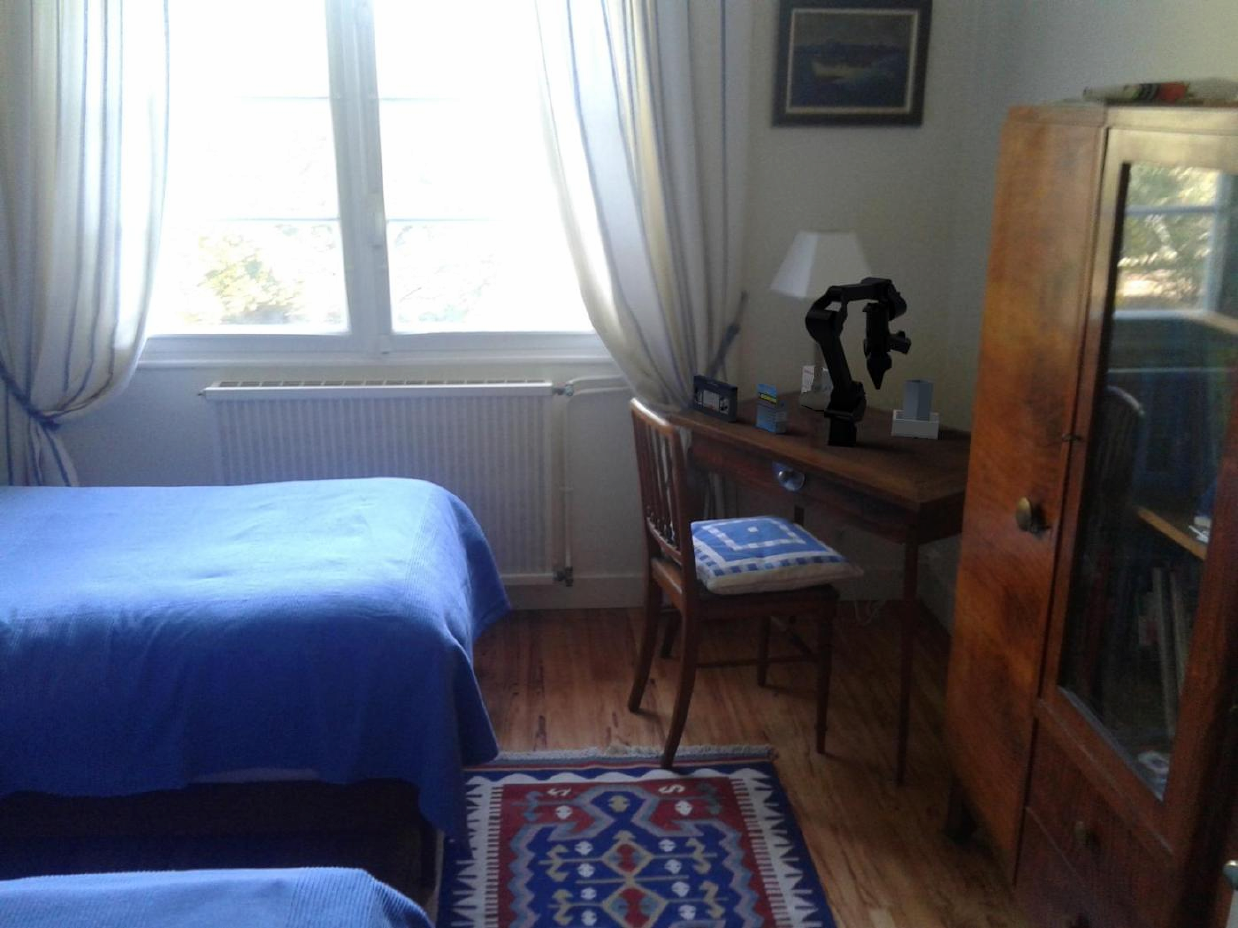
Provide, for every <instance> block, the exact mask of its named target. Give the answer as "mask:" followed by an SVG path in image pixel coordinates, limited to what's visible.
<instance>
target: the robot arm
mask: <svg viewBox="0 0 1238 928" xmlns="http://www.w3.org/2000/svg"><path fill="white" fill-rule="evenodd" d="M863 300H864V301H865V300H867V301H869V302H867V303H866V304H865V306H864V307H862V310H861V312H862V313H864V314H865V329H864V330H865V338H864V340H862V348H863V349H862V350H863V354H864V357H865V365H866V366H865V367H866V370H867V372H868V375H869V377H870V379H871V381H872V384H873V386H874V389H875V390H876V391H879V390H881V388H882V384H883V380H884V376H885V373H886V372H887V371H888V370H891V368H893V358H892V356H891V355H890V354H889V353H891V350H892V351H894V352H897V353H901V354H902V355H906V356H907V355H908V354H909V351H910V349H911V346H912V340H911V339H910V338H909V337H908V336H907V337H906V331H905V330H897V332H896V333H892V332H891V329H890V323H889V322H892V321H893V320H896V319H898V318H900V317H902V316H904V315H905V314H906V313H907V310H908V304H907V302H906V300H905V298H904V297H903V296H901V292H900V291H897V289H896V287H895V284H893V280H892V279H891V278H886V277H885V278H883V277H875V276H873V277H872V276H868V277H865V278H863V279H861V280H860V282H858V283H849V284H841V285H834V284H833V285H830V286H828V288H827V290H826V291H825V293H824V294H822V295H821V296H820V297H818V298H817V299H816V300H815V301H813V302H812V304H811V306H810V308H809V310H808V311H807V313H806V314H805V316H804V325H805V329H806V330H807V332H808V334H809V336H810V337H811V338H812V339H813V340H814V341H816V343H817V344H819V346H820V350H821V353H822V355H823V359H824V362H825V364H826V369H828V372H829V375H830V378H831V385H832V389H831V394H830V400H829V402H828V403H827V405H826V407H825V409H824V411H823V417H824V419H829V427H828V428H829V429H828V440H827V443H826V444H827V445H829V446H830V445H831V446H842V447H854V445H855V444H856V443H857V438H858V428H859V427H858V424H856V423H860V422H862V421H863V419H864V416H865V411H866V407H867V397H866V394H867V392H866V391H865V389H864V384H863V382H861V381H858V380H853V378H852V374H851V371H850V367H849V364H848V361H847V357H846V355H845V354H846V353H845V350H844V348H843V345H842V341H841V335H842V332H843V330H844V324H845V322H846V320H847V318H848V317H849V316H848V314H849V312H848V305H849V303H850V302H858V301H863ZM870 301H874V302H870ZM832 303H839V304H840V308H839V310H838V311H837V310H833V309H826V308H828V307H829V306H831V305H832Z"/></svg>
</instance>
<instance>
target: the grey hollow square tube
mask: <svg viewBox="0 0 1238 928" xmlns="http://www.w3.org/2000/svg"><path fill="white" fill-rule="evenodd" d="M904 382H905V384H904V394H903V395H904V396H903V402H902V403H903V404H902V410H903V413H902V419H903V420H916V421H928V422H929V420H930V413H931V410H932V409H931V408H932V400H933V390H934V381H929V380H925V379H923V378H922V379H921V378H915V379H907V380H905V381H904Z"/></svg>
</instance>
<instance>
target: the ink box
mask: <svg viewBox="0 0 1238 928" xmlns="http://www.w3.org/2000/svg"><path fill="white" fill-rule="evenodd" d="M814 366H815V365H804V366H802V368H803V369H802V379H801V380H802V381H801V383H802V384H801V393H800V394H802V393H803V392H807V391H810V390H811V385H812V383H813V379H814ZM822 368H823V371H822V390H823V392H824V393H826V394H827V395H829V396H830V394H831V392H832V381H831V378H830V375H829V372H828V369H827V368H825V367H822Z"/></svg>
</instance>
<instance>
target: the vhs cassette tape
mask: <svg viewBox="0 0 1238 928" xmlns="http://www.w3.org/2000/svg"><path fill="white" fill-rule="evenodd" d="M692 385H693V386H692V387H693V388H692V389H693V390H692V393H693V394H692V410H695V411H697V412H699V413H701V414H705V415H707V416H710V417H712V418H715V419H718V420H720V421H723V422H725V423H728V424H731V423H737V418H738V417H737V415H738V414H737V413H738V398H739V397H738V394H739V387H738V386H736V385H733V384H730V383H727V382H724V381H721V380H718V379H715V378H711V377H707V376H704V375H702V374H697V375H693V384H692Z"/></svg>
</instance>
